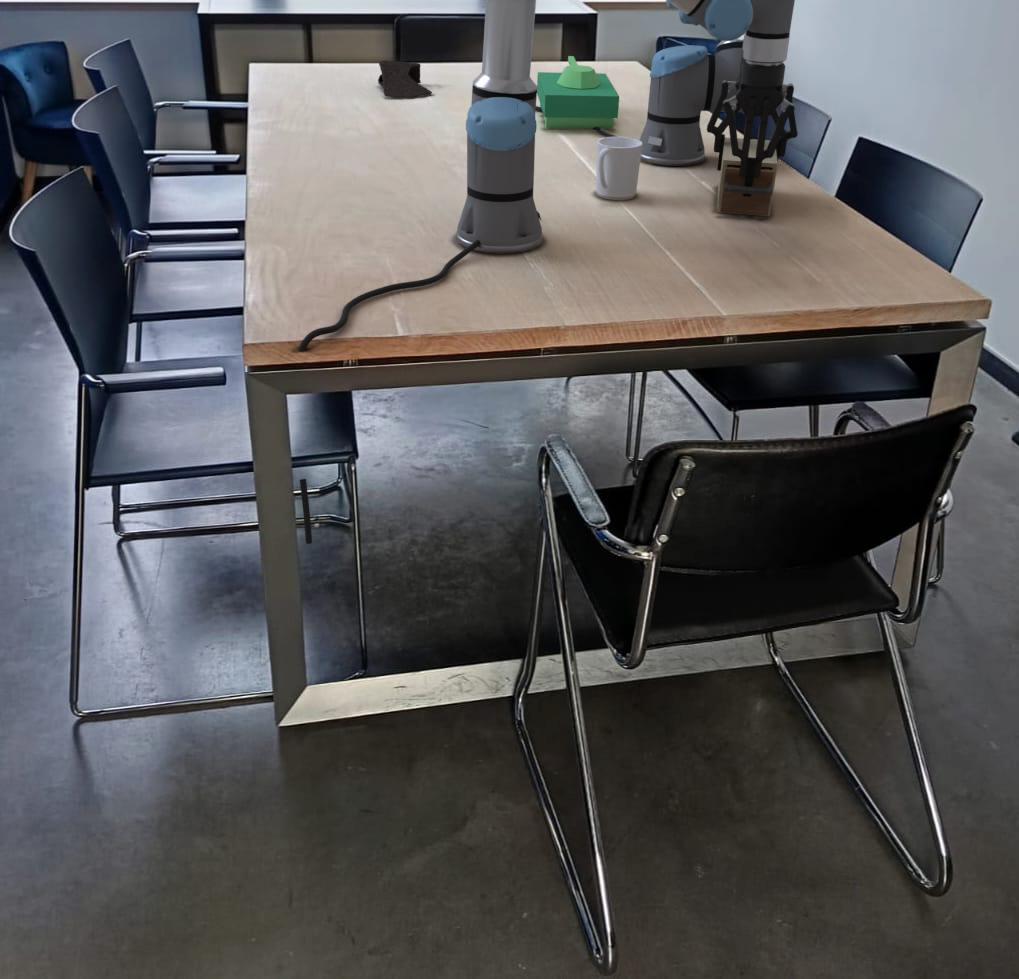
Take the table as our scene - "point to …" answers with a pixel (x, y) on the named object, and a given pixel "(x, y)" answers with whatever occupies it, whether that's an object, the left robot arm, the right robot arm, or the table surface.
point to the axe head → (401, 79)
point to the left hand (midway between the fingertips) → (746, 194)
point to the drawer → (746, 192)
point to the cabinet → (734, 160)
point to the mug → (617, 167)
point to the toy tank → (577, 98)
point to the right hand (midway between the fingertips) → (746, 170)
